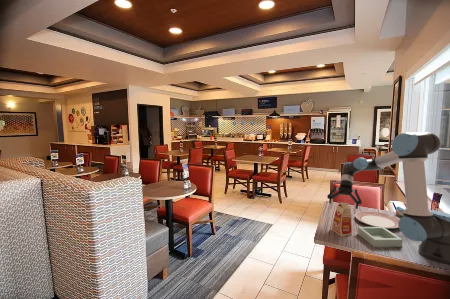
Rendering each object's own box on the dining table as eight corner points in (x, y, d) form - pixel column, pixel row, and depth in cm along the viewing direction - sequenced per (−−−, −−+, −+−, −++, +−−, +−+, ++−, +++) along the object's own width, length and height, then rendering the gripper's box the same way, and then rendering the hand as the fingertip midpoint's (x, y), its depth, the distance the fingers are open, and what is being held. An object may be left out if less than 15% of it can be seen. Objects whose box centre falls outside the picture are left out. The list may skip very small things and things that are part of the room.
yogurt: (395, 214, 172) (396, 206, 172) (397, 214, 172) (398, 206, 172) (407, 221, 160) (408, 212, 160) (409, 221, 160) (410, 212, 160)
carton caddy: (401, 247, 126) (402, 239, 126) (374, 247, 126) (374, 239, 126) (382, 233, 142) (382, 226, 141) (357, 234, 142) (358, 227, 141)
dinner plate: (371, 232, 144) (371, 227, 144) (347, 215, 171) (347, 211, 171) (413, 231, 145) (414, 226, 145) (382, 214, 172) (382, 210, 172)
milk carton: (341, 236, 139) (343, 204, 137) (330, 229, 148) (332, 199, 146) (353, 234, 142) (355, 203, 139) (342, 227, 150) (343, 198, 148)
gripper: (367, 188, 152) (364, 217, 141) (327, 182, 166) (322, 209, 155) (367, 182, 147) (364, 212, 136) (326, 177, 161) (320, 203, 151)
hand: (342, 210), depth 146 cm, fingers open, 13 cm apart
